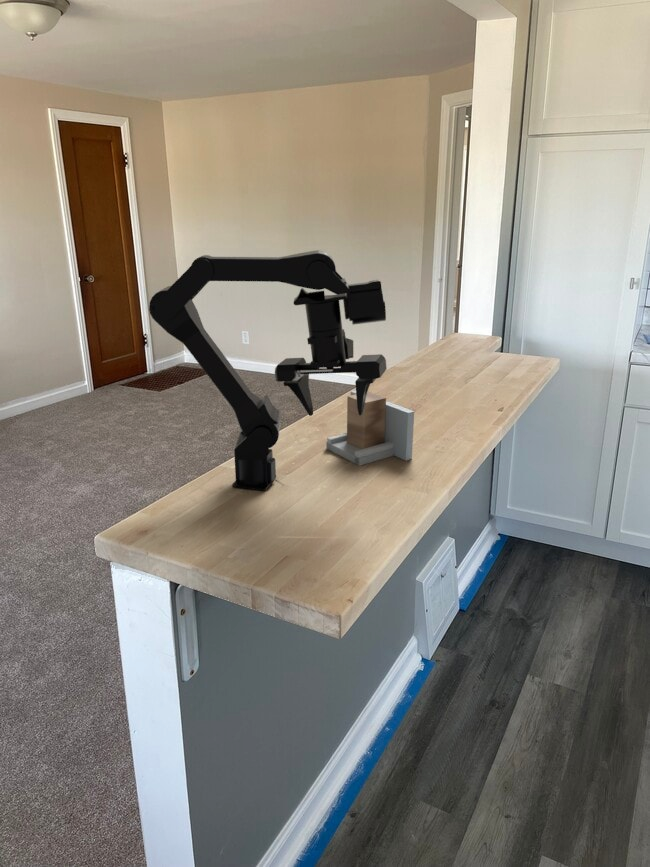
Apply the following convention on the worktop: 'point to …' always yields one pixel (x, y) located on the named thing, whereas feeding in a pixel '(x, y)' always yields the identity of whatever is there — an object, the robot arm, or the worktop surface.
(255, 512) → the worktop surface
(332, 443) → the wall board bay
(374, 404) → the walnut cabinet block
